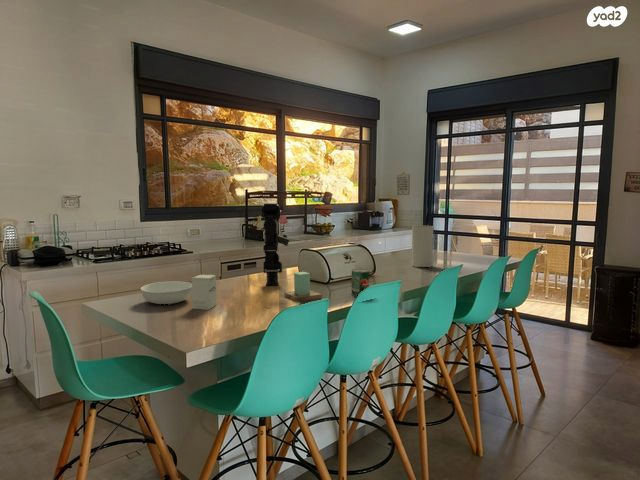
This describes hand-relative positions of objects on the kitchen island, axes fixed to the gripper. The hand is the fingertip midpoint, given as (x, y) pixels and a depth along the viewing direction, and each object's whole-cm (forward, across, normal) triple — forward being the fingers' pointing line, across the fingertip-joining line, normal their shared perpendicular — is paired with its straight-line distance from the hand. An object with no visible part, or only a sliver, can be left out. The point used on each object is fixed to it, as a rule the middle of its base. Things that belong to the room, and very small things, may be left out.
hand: (271, 263), depth 207 cm
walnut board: (+14, -14, -14) cm, 24 cm away
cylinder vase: (+13, +62, -91) cm, 111 cm away
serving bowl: (+13, -17, +43) cm, 48 cm away
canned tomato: (+13, -10, -40) cm, 43 cm away
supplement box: (+13, -27, +26) cm, 40 cm away
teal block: (+11, -14, -14) cm, 23 cm away
